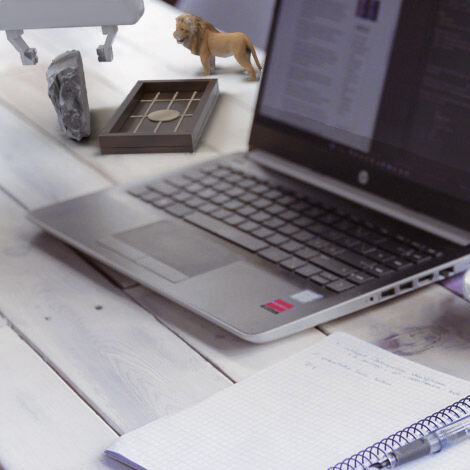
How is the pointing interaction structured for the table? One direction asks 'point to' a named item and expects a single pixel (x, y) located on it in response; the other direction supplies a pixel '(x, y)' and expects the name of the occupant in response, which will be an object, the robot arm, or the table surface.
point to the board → (160, 117)
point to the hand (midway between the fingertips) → (68, 62)
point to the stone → (69, 94)
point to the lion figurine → (214, 44)
